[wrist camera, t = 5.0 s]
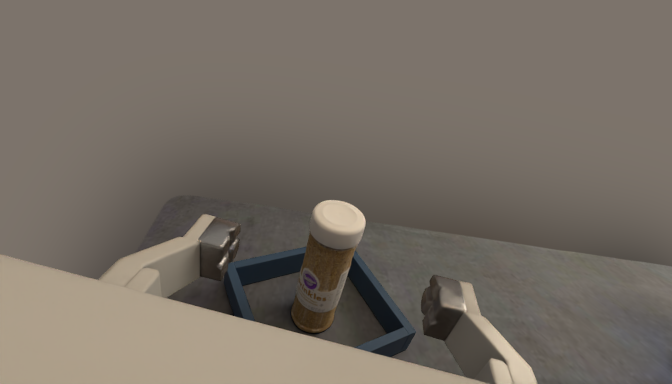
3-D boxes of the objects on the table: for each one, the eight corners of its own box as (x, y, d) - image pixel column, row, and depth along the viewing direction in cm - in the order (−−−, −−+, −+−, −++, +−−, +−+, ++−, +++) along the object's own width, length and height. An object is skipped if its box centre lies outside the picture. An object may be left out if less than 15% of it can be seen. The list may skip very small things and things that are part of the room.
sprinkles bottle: (281, 320, 33) (302, 215, 26) (304, 290, 37) (328, 191, 30) (321, 343, 32) (354, 240, 25) (341, 310, 36) (374, 212, 29)
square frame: (341, 255, 43) (346, 238, 41) (406, 349, 33) (416, 331, 32) (223, 283, 35) (224, 263, 34) (265, 414, 26) (269, 395, 24)
